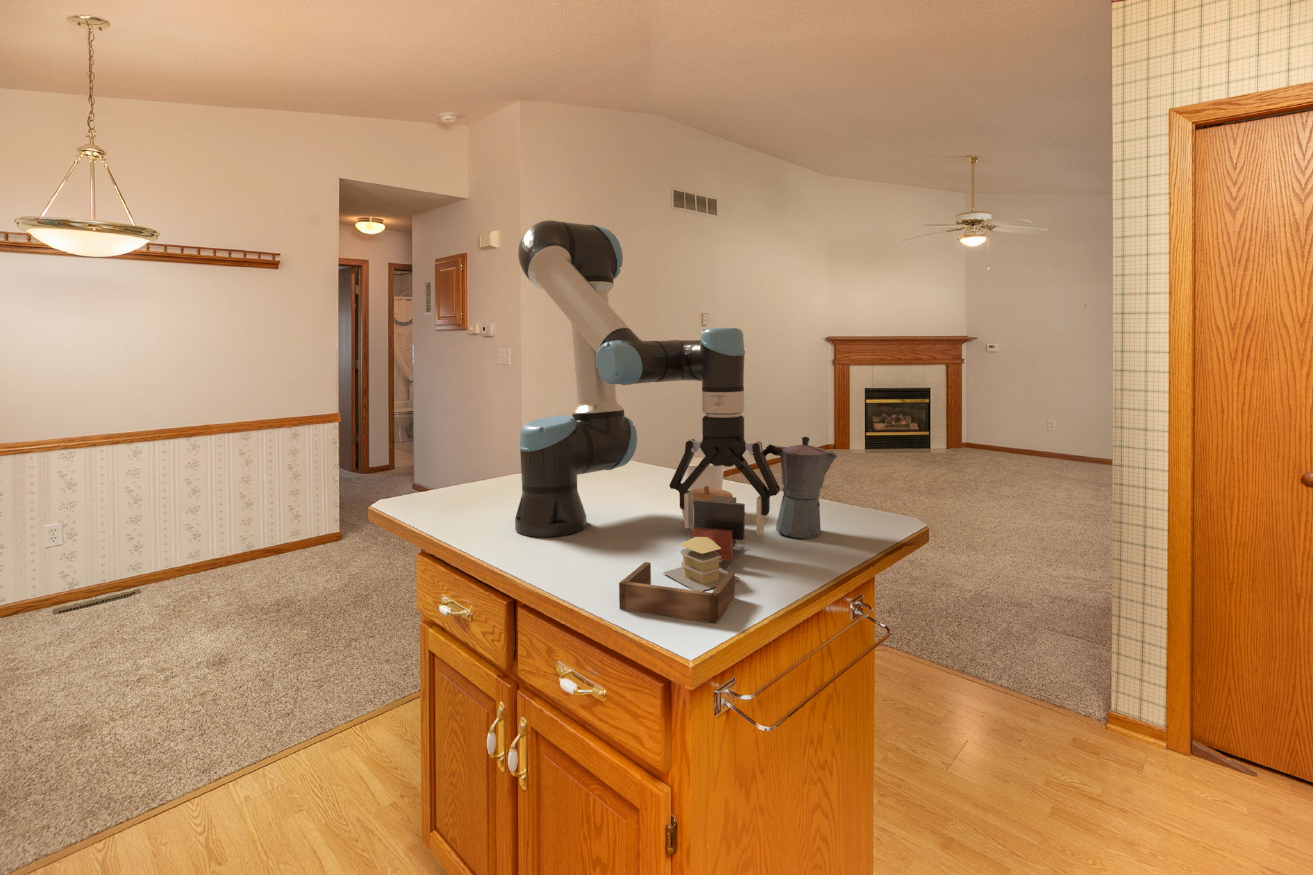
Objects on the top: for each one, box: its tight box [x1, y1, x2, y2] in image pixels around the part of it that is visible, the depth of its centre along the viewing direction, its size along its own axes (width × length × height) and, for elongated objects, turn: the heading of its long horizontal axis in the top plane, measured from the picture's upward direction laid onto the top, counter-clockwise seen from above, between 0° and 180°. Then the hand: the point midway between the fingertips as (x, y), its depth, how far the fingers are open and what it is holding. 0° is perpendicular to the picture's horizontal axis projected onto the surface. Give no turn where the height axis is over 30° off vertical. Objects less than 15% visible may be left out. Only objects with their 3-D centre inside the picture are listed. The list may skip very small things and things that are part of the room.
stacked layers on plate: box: [662, 537, 742, 592], centre depth 111 cm, size 10×9×6 cm
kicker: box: [691, 496, 746, 561], centre depth 120 cm, size 9×9×9 cm
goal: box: [618, 561, 736, 624], centre depth 100 cm, size 15×10×4 cm, turn 68°
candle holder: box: [681, 457, 725, 490], centre depth 152 cm, size 10×10×12 cm
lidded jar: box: [681, 486, 734, 530], centre depth 138 cm, size 11×11×9 cm
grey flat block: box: [719, 545, 745, 570], centre depth 122 cm, size 6×12×1 cm, turn 158°
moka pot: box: [763, 436, 838, 539], centre depth 135 cm, size 10×15×20 cm, turn 78°
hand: (723, 529), depth 122 cm, fingers open, 13 cm apart
